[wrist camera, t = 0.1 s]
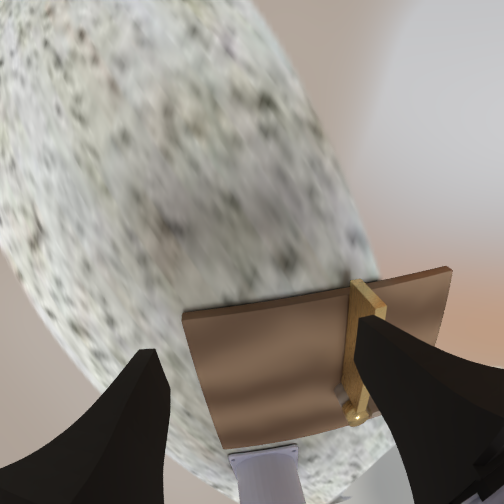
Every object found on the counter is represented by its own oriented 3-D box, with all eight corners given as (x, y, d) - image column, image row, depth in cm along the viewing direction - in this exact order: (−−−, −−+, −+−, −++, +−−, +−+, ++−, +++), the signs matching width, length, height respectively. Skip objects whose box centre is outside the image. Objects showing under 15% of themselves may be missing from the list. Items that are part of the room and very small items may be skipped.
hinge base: (418, 393, 28) (438, 420, 23) (222, 442, 26) (225, 480, 21) (454, 263, 22) (491, 287, 17) (182, 312, 20) (175, 359, 15)
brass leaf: (352, 393, 24) (366, 422, 20) (333, 398, 23) (347, 428, 20) (366, 277, 19) (393, 304, 16) (343, 281, 19) (368, 310, 16)
